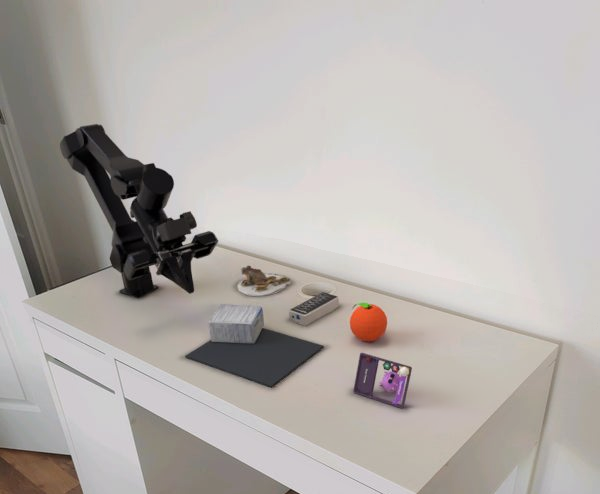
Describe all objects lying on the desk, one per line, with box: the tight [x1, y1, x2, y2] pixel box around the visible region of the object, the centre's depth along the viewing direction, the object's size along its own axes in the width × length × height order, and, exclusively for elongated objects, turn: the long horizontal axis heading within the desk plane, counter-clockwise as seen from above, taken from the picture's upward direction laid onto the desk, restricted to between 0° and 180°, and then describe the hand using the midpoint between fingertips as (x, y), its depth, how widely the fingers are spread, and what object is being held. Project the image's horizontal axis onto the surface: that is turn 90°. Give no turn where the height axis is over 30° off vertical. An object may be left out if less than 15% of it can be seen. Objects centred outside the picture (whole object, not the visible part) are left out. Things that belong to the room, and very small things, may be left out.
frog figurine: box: [237, 265, 292, 297], centre depth 139 cm, size 12×12×4 cm
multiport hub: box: [288, 291, 340, 327], centre depth 126 cm, size 4×11×2 cm, turn 139°
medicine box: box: [208, 303, 265, 344], centre depth 118 cm, size 8×4×9 cm
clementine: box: [349, 302, 388, 343], centre depth 114 cm, size 8×7×7 cm
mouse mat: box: [184, 327, 325, 388], centre depth 113 cm, size 20×16×1 cm
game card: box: [352, 352, 413, 409], centre depth 99 cm, size 7×5×9 cm
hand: (192, 292), depth 119 cm, fingers closed
